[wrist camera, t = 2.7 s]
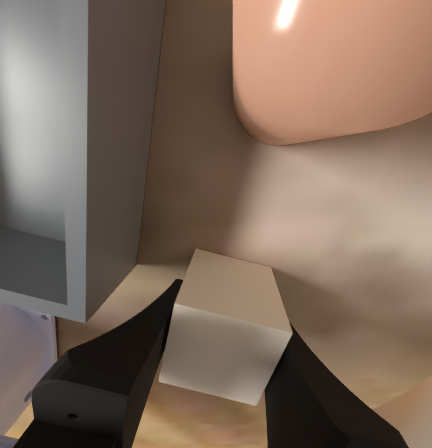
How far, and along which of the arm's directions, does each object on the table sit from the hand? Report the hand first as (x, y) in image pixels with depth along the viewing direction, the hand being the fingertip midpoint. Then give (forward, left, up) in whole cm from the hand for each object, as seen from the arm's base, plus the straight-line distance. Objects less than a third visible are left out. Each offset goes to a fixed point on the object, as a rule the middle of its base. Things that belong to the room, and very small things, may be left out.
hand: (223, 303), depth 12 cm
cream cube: (0, 0, -1) cm, 1 cm away
